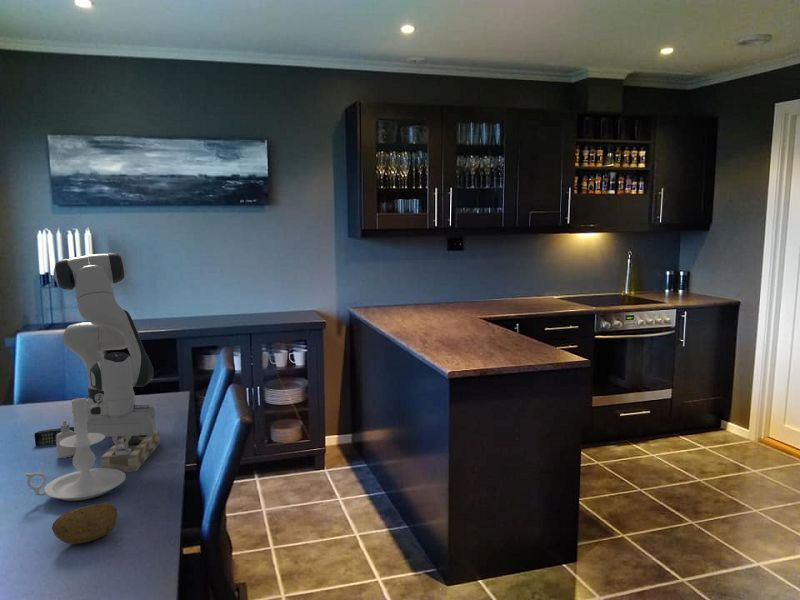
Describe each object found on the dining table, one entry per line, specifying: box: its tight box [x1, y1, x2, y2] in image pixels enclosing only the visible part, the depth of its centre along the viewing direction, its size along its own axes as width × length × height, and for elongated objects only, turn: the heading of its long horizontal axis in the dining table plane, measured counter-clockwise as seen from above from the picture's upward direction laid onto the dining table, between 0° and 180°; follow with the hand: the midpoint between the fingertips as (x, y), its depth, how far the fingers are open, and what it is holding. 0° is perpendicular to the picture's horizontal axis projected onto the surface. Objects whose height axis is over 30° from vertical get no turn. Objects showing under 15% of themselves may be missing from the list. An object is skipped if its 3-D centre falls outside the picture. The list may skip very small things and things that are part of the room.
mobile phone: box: [34, 426, 76, 446], centre depth 218 cm, size 5×3×15 cm
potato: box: [51, 502, 118, 545], centre depth 149 cm, size 10×14×8 cm
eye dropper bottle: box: [55, 419, 76, 460], centre depth 204 cm, size 4×6×12 cm
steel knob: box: [115, 446, 131, 455], centre depth 194 cm, size 5×5×5 cm
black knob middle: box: [124, 435, 139, 446], centre depth 201 cm, size 5×5×5 cm
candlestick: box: [24, 397, 126, 502], centre depth 173 cm, size 21×25×28 cm
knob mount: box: [100, 429, 160, 473], centre depth 202 cm, size 24×10×5 cm, turn 5°
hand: (122, 449), depth 193 cm, fingers closed, pressing on steel knob
